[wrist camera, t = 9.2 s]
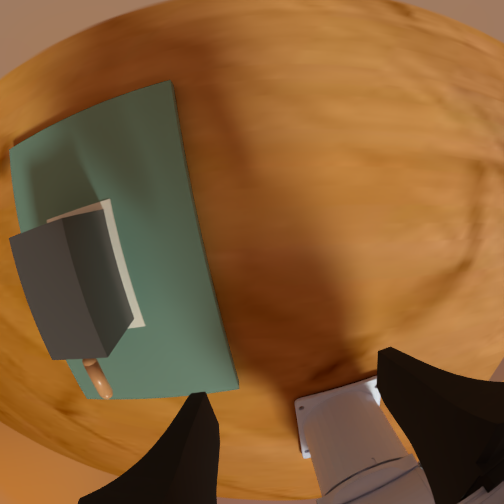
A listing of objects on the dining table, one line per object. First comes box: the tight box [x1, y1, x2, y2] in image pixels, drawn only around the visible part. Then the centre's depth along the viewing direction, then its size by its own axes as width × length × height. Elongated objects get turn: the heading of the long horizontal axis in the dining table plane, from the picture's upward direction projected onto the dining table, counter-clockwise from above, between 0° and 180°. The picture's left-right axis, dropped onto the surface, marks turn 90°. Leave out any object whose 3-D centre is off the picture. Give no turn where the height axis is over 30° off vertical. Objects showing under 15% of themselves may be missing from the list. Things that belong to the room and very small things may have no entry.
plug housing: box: [9, 209, 134, 399], centre depth 15 cm, size 11×4×5 cm, turn 10°
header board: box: [9, 80, 239, 399], centre depth 16 cm, size 22×14×4 cm, turn 11°
